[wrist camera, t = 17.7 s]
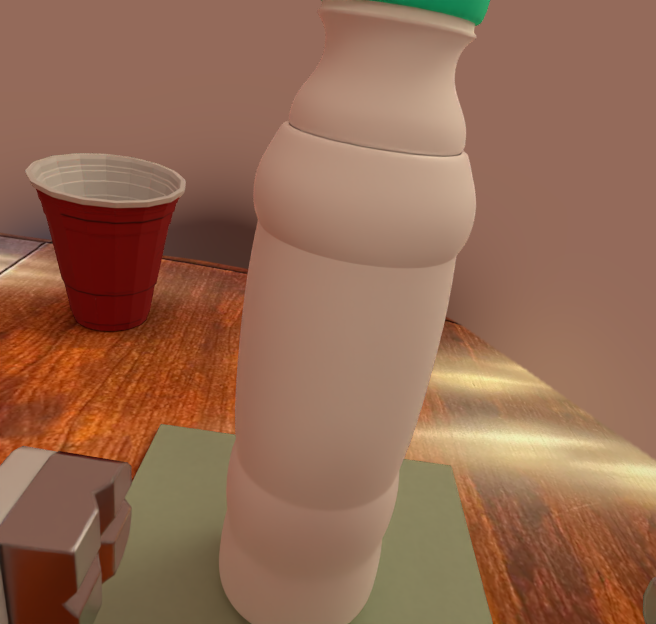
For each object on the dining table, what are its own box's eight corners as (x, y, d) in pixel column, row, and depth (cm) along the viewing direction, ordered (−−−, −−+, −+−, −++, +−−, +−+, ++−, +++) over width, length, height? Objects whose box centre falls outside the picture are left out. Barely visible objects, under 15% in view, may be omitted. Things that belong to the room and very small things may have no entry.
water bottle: (402, 603, 24) (612, -57, 13) (261, 681, 20) (398, -157, 10) (319, 495, 29) (424, -45, 19) (193, 542, 25) (235, -108, 15)
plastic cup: (33, 355, 38) (19, 184, 32) (39, 290, 46) (28, 148, 41) (191, 345, 42) (200, 194, 37) (169, 287, 51) (174, 159, 46)
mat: (449, 470, 34) (451, 465, 33) (549, 858, 17) (553, 852, 17) (160, 429, 33) (160, 423, 33) (-21, 794, 16) (-22, 787, 16)
